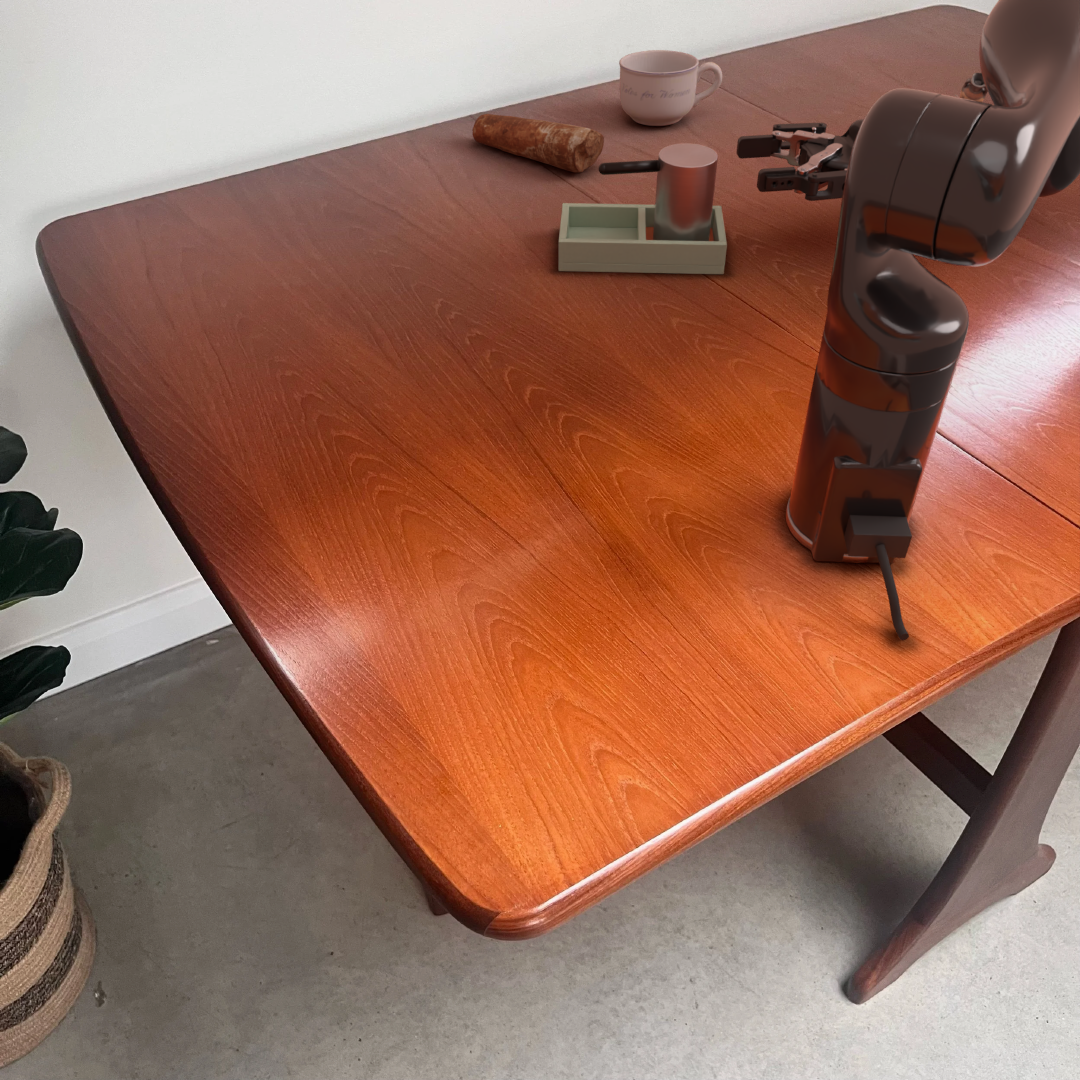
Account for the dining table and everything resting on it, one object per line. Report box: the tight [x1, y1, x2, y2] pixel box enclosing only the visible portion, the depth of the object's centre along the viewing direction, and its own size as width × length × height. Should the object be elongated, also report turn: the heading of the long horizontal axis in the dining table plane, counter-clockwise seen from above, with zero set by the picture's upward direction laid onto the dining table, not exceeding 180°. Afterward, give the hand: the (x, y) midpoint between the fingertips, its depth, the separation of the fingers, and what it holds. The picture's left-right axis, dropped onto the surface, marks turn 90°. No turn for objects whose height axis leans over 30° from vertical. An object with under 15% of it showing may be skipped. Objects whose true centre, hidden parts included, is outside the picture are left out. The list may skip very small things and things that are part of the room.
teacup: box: [618, 49, 723, 127], centre depth 143 cm, size 14×11×8 cm
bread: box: [472, 113, 605, 174], centre depth 135 cm, size 6×19×6 cm, turn 52°
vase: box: [954, 72, 988, 103], centre depth 143 cm, size 5×5×6 cm
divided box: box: [557, 202, 728, 275], centre depth 116 cm, size 9×18×4 cm, turn 86°
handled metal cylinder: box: [597, 142, 719, 241], centre depth 113 cm, size 13×6×10 cm, turn 96°
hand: (747, 163), depth 111 cm, fingers open, 8 cm apart
